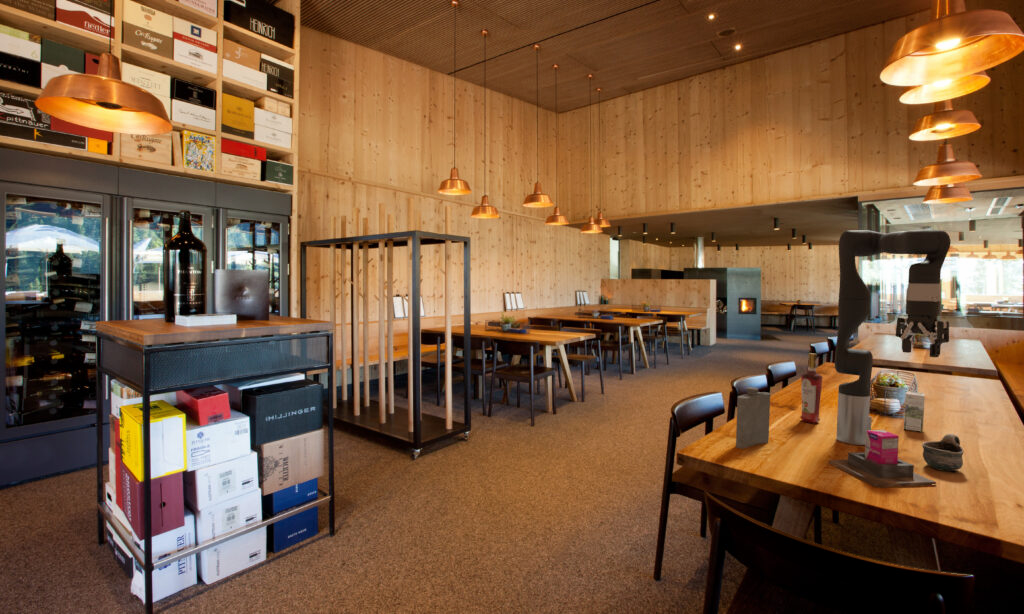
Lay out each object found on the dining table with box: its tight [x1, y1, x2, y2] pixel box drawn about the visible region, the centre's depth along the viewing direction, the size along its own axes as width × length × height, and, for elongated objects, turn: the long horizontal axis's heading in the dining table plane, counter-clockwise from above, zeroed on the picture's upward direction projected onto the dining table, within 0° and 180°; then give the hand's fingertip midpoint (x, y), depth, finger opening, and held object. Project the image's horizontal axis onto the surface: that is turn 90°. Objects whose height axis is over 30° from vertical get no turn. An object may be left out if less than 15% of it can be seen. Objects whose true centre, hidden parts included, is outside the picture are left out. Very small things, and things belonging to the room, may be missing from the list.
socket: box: [828, 451, 937, 488], centre depth 144 cm, size 18×18×4 cm
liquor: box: [799, 352, 823, 424], centre depth 197 cm, size 7×7×28 cm
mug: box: [922, 433, 965, 472], centre depth 149 cm, size 10×12×10 cm
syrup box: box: [903, 390, 926, 433], centre depth 187 cm, size 6×6×14 cm
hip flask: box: [735, 386, 771, 450], centre depth 169 cm, size 16×4×20 cm, turn 120°
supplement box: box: [864, 429, 900, 464], centre depth 144 cm, size 6×6×12 cm
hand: (920, 354), depth 141 cm, fingers open, 8 cm apart
